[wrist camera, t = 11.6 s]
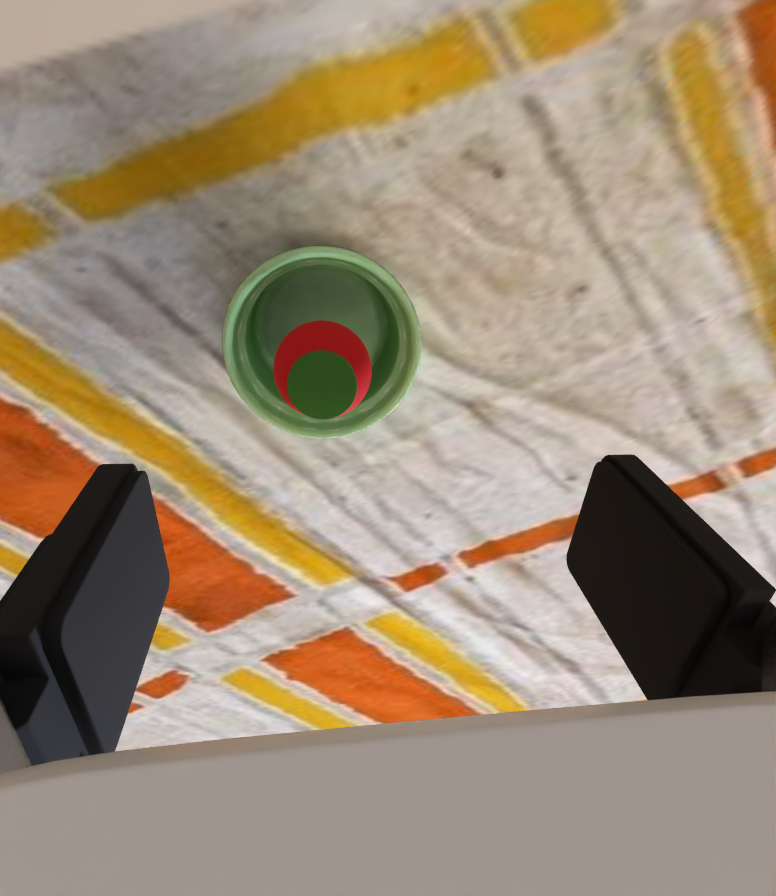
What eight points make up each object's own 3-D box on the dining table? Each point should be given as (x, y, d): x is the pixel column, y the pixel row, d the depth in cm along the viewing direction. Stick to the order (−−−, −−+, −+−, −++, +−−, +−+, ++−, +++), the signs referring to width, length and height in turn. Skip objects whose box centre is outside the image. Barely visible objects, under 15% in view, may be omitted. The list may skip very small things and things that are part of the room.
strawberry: (276, 309, 22) (263, 332, 18) (368, 311, 22) (377, 334, 18) (281, 397, 23) (270, 437, 19) (366, 397, 24) (374, 436, 20)
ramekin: (420, 247, 25) (439, 263, 22) (391, 409, 30) (404, 445, 26) (235, 219, 24) (221, 230, 20) (233, 395, 28) (221, 432, 24)
